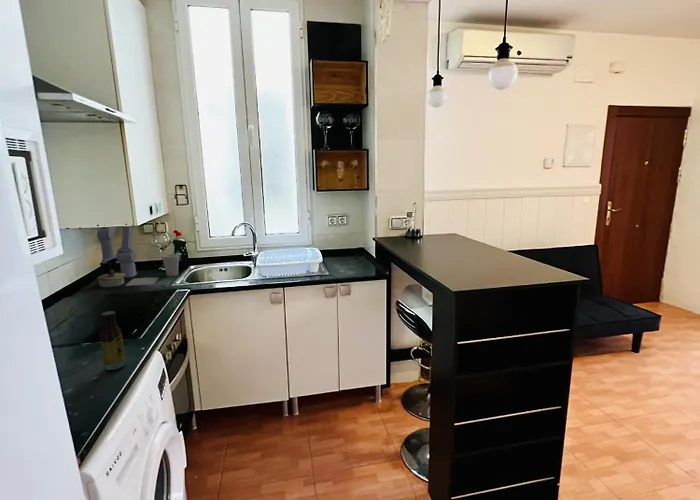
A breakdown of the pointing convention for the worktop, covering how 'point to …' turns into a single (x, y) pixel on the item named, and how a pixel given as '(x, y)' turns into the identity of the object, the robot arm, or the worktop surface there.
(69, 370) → the worktop surface
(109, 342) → the sauce bottle
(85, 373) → the worktop surface
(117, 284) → the bowl
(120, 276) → the lid
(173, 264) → the foam cup
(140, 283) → the mat
